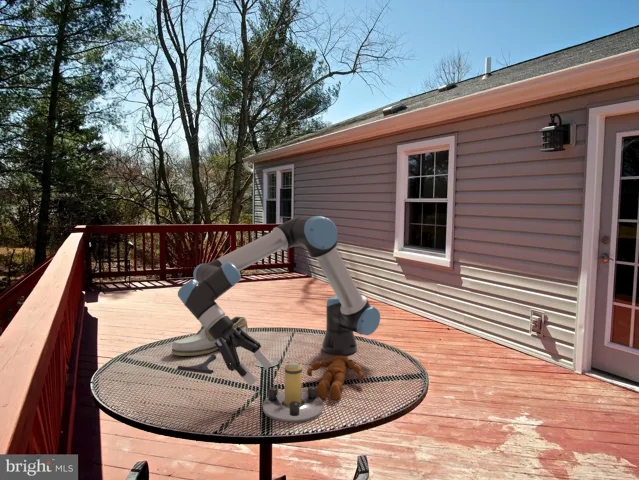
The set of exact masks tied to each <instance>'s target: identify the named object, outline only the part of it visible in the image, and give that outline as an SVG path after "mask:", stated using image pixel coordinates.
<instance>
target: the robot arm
mask: <svg viewBox="0 0 639 480" xmlns="http://www.w3.org/2000/svg"><path fill="white" fill-rule="evenodd" d="M338 234H339V233H338V229H337V226H336V224H335V223H334V222H333V220H331V219H330V218H328V217H326V216H322V215H314V216H305V215H302V216H301V215H299V216H295V217H293V218H291V219H289V220H287V221H285V222H284V223H281V224H280V225H277V226H275V227H273V229H272V231H270V232H269V233H267V234H264V235H263V236H261V237H259V238H256V239H255V240H253V241H251V242H249V243H246V244H244V245H242V246H241V247H238V248H237V249H234V250H233V251H230V252H229V253H227V254H224V255H223V256H220V257H218V258H216V259H214V260H212V261H210V262H209V263H200V264H199V265H197V266H196V267H195V268H194V269H193V273H192V274H193V279H190V280H189V281H187V282H185V283H184V284H183V285H182V286H181V287H180V288H179V290H178V291H177V297H178V298H179V300H180V301H181V302H182V303H183V304H184V306H185V307H186V308H187V309H188V311H189V312H190V313H191V314H192V315H193V317H195V318H196V320H197V321H198V322H199V323H200V326H204V328H205V329H209V330H208V331H209V334H210V335H211V336H212V337H213V338H214V339H215V340H217V339H218V340H217V341H216V342H215V345H216V346H217V347H218V349H217V350H219V353H220V355H221V357H222V359H223V361H224V363H225V365H226V368H227V369H228V370H229V371H231V372H234V371H236V373H238V375H239V376H240V377H241V378H242V379H243V380H244V381H245V382H246V384H248V386H249V387H250V386H253V384H254V383H255V382H257V380H258V379H257V378H256V377H255V376H254V374H253V373H252V372H251V371H250V369H248V367H247V366H246V365H245V364H244V363H243V362H241V361H240V358H239V354H238V350H237V348H236V347H241V348H243V349H244V350H245V349H246V350H247V351H249V352H250V353H253V354H252V355H253V356H254V358H255V359H256V360H257V361H258V362H259V364H260V365H261V366H262V367H263V368H264V369H265V370H266V371H267V370H268V369H269V368H271V366H272V365H273V362H272V361H271V360H270V359H269V358H268V357H267V356H266V354H264V351H262V349H261V348H262V345H261V343H260V342H258V341H257V340H256V339H255V338H253V337H252V336H250V335H249V333H248V334H246V333H245V332H243V331H242V330H241V329H240V328H239V327H237V328H236V329H235V330H234V329H233V328H232V326H233V324H234V323H233V322H232V320H231V319H232V318H230V317H229V316H228V315H226V313H225V311H224V310H223V309H222V308H221V307H220V306H219V305H218V303H217V302H216V300H217V299H218V298H220V297H221V296H222V295H224V294H225V293H226V292H228V291H229V290H230V289H231V288H232V287H235V286H236V284H237V283H239V282H240V281H241V279H242V276H241V272H240V271H242V270H244V269H246V268H248V267H251V265H254V264H256V263H259V261H261V260H263V259H266V258H267V257H269V256H271V255H273V254H275V253H277V252H278V251H280V250H282V251H286V250H288V249H290V248H294V247H303V248H305V249H306V251H307V252H308V254H309V256H310V258H312V259H316V261H317V264H319V266H320V269H321V270H322V272H323V273H324V276H325V277H326V279H327V281H328V283H329V285H330V287H331V289H332V291H333V292H334V294H335V296H334V297H329V298H328V299H327V300H326V331H325V335H324V338H323V341H322V344H321V349H322V351H323V352H324V353H326V354H331V355H335V356H339V355H340V356H345V355H346V356H347V355H351V354H355V353H356V352H357V351H358V344H357V341H356V337H355V335H354V333H357V334H358V335H363V336H370V335H372V334H373V333H375V332H376V331H377V329H378V328H379V325H380V322H381V314H380V311H379V309H378V308H376V307H375V306H372V305H371V303H370V302H369V300H368V299H367V297H366V296H365V295H363V294H360V291H359V289H358V288H357V286H356V284H355V282H354V280H353V278H352V276H351V274H350V272H349V270H348V268H347V266H346V264H345V263H344V260H343V258H342V257H341V255H340V253H339V251H338V249H337V246H338V243H339V242H338Z"/></svg>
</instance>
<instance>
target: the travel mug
mask: <svg viewBox="0 0 639 480" xmlns="http://www.w3.org/2000/svg"><path fill="white" fill-rule="evenodd" d="M302 372H303V366H302V365H300V364H299V362H288V364H286V365H285V367H284V392H285V404H286V405H287V406H290V403H291V402H299V403H300V404H301V391H302V390H303V389H302V388H303V385H302V383H303V382H302V378H303V377H302V375H303V374H302ZM300 404H299V405H300Z"/></svg>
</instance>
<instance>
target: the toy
mask: <svg viewBox="0 0 639 480" xmlns="http://www.w3.org/2000/svg"><path fill="white" fill-rule="evenodd" d="M321 367H322V368H327V369H326V371H324V372H323V375H322V377H321V378H322V380H320V381H319V384H317V387H316V388H317V396H318V397H319V398H321V400H327V399H328V398H329V401H330V400H331V401H332V400H333V401H336V400H337V401H341V398H342V395H341V390H342V388H343V385H344V383H345V376H346V373H347V371H348V370H353V372H354V373H356V375H357V378H358V380H359V382H360V381H363V380H364V378H365V376H364V372H363V369H362V367H361V366H360V365H359V364H356V362H354V360H353V359H348V358H347V356H345V355H335V356H334V357H332V358H330V359H329V360H327V359H322V360H320V361H319V360H317V361H314V362H313V363H312V364H311V366H310V367H308V368H307V371H306V374H307V375H308V377H312V376H313V372H315V371H317V370H319V369H320V368H321ZM328 389H329V394H328ZM328 395H329V396H328Z"/></svg>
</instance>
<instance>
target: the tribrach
mask: <svg viewBox="0 0 639 480" xmlns="http://www.w3.org/2000/svg"><path fill="white" fill-rule="evenodd" d="M267 393H268V395H267V397H266V398H265V399H264V401H263V403H262V411H263V414H265V416H266V417H268V418H269V419H272V420H274V421H277V422H282V423H302V422H306V421H307V422H308V421H311V420H314V419H315V418H317V417H319V416H320V415H321V414H322V413H323V411H324V402H323V399H321V398H320V397H318V396H317V387H316V386H313V385H312V386H308V387H307V391H302V390H301V404H300V403H299V402H291V403H290V406H287V405H286V404H285V391H280V392H278V387H270V388H268V392H267ZM299 404H300V405H299Z"/></svg>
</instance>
